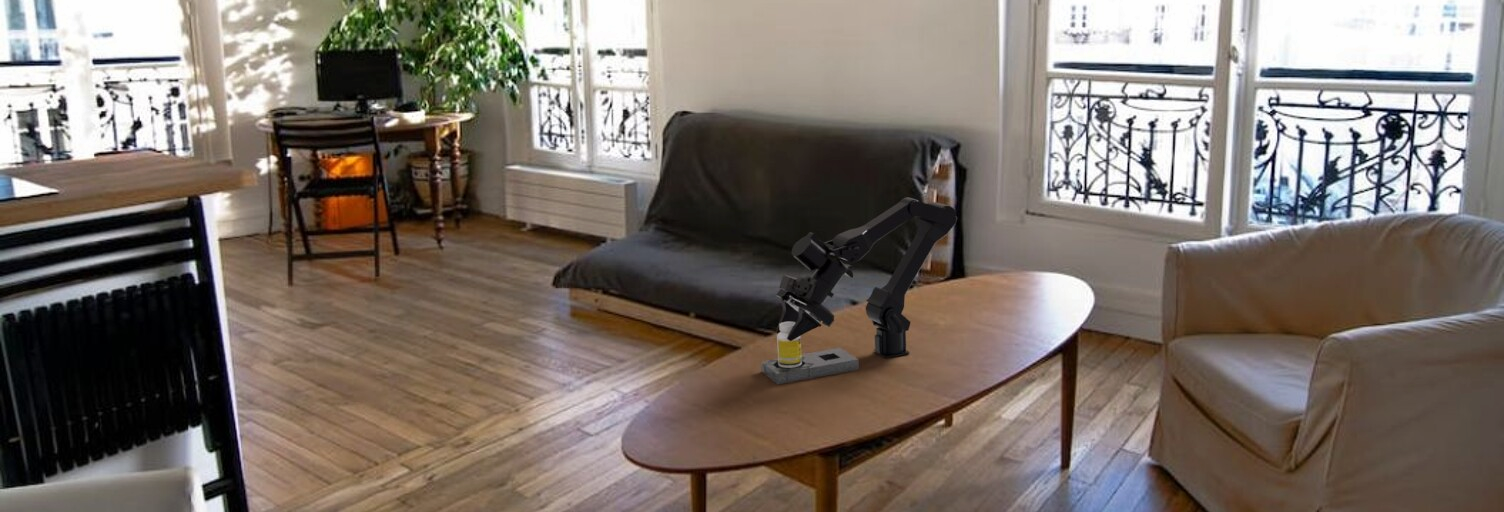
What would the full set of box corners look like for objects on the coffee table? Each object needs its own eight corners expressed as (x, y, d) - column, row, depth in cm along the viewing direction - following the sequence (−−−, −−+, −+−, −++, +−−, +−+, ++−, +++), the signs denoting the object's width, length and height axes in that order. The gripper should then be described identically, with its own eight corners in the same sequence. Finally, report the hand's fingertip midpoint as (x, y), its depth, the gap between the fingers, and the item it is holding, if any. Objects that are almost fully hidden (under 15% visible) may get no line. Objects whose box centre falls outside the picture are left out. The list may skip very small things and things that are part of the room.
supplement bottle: (804, 367, 267) (802, 325, 265) (781, 370, 266) (778, 328, 264) (799, 360, 272) (796, 319, 270) (776, 362, 272) (773, 322, 269)
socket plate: (840, 357, 280) (839, 347, 279) (859, 369, 270) (858, 359, 270) (760, 371, 273) (760, 361, 272) (777, 384, 263) (776, 374, 263)
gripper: (781, 253, 274) (741, 308, 272) (818, 269, 257) (776, 327, 255) (813, 281, 279) (774, 334, 277) (852, 297, 262) (811, 354, 260)
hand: (783, 336), depth 267 cm, fingers closed on supplement bottle, 5 cm apart
